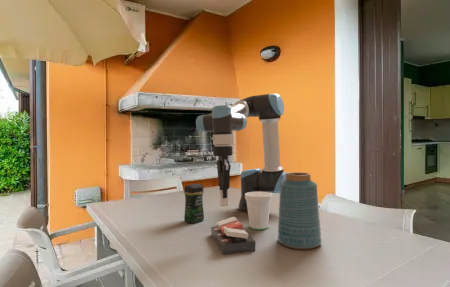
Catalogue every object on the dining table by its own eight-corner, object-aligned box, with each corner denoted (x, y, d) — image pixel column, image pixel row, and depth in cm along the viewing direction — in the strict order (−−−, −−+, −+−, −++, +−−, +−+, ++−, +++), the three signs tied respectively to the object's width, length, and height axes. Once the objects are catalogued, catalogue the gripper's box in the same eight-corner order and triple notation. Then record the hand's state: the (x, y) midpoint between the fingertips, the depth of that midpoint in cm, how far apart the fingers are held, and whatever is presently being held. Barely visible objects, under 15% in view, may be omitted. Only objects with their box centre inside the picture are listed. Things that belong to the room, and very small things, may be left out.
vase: (315, 254, 94) (314, 177, 94) (271, 245, 103) (270, 175, 102) (325, 239, 108) (324, 172, 108) (286, 232, 116) (284, 170, 116)
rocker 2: (239, 224, 110) (238, 220, 110) (242, 228, 105) (242, 223, 105) (220, 230, 108) (219, 226, 108) (223, 234, 104) (222, 230, 103)
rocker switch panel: (233, 227, 125) (233, 217, 125) (255, 250, 98) (255, 238, 98) (208, 229, 122) (208, 219, 122) (223, 254, 95) (222, 241, 95)
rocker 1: (234, 220, 116) (233, 216, 116) (238, 223, 112) (237, 219, 112) (217, 226, 114) (216, 222, 114) (219, 229, 110) (218, 225, 110)
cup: (274, 224, 128) (274, 192, 128) (270, 232, 117) (269, 197, 116) (249, 222, 132) (248, 190, 132) (242, 230, 121) (241, 196, 121)
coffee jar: (192, 224, 130) (191, 186, 130) (181, 221, 135) (181, 184, 135) (207, 220, 137) (206, 183, 137) (196, 217, 142) (196, 182, 142)
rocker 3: (243, 234, 104) (244, 229, 104) (247, 238, 99) (248, 233, 99) (223, 231, 102) (224, 227, 102) (226, 235, 97) (227, 231, 97)
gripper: (209, 145, 111) (211, 202, 112) (216, 146, 98) (218, 211, 99) (227, 144, 113) (229, 201, 113) (236, 145, 100) (238, 209, 101)
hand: (224, 205), depth 106 cm, fingers closed
